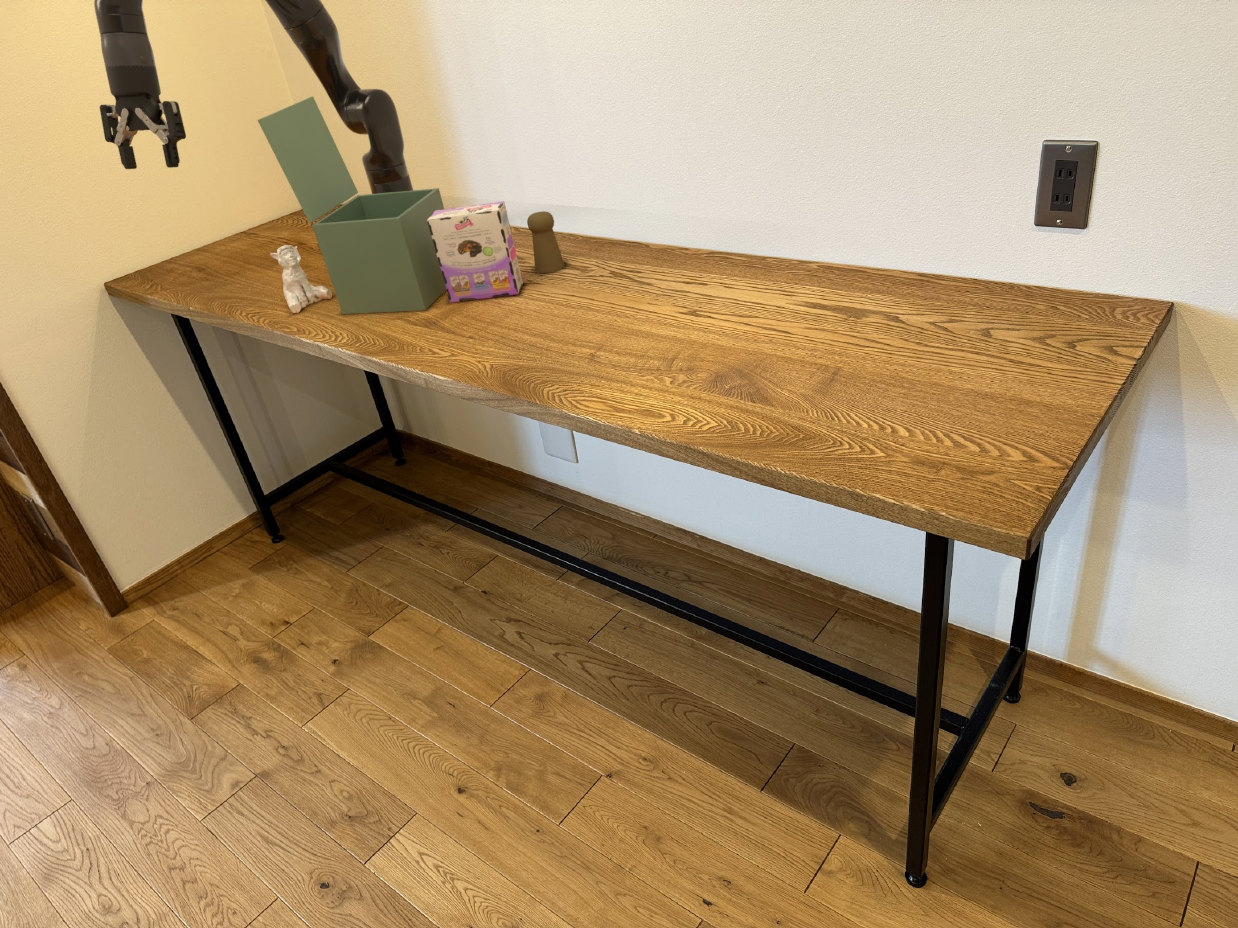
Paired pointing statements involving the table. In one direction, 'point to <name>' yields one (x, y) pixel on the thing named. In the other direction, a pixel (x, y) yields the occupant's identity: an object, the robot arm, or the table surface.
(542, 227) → the brown game pawn
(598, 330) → the table surface
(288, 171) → the lid
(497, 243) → the candy box
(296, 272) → the sitting furry creature
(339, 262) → the chest
